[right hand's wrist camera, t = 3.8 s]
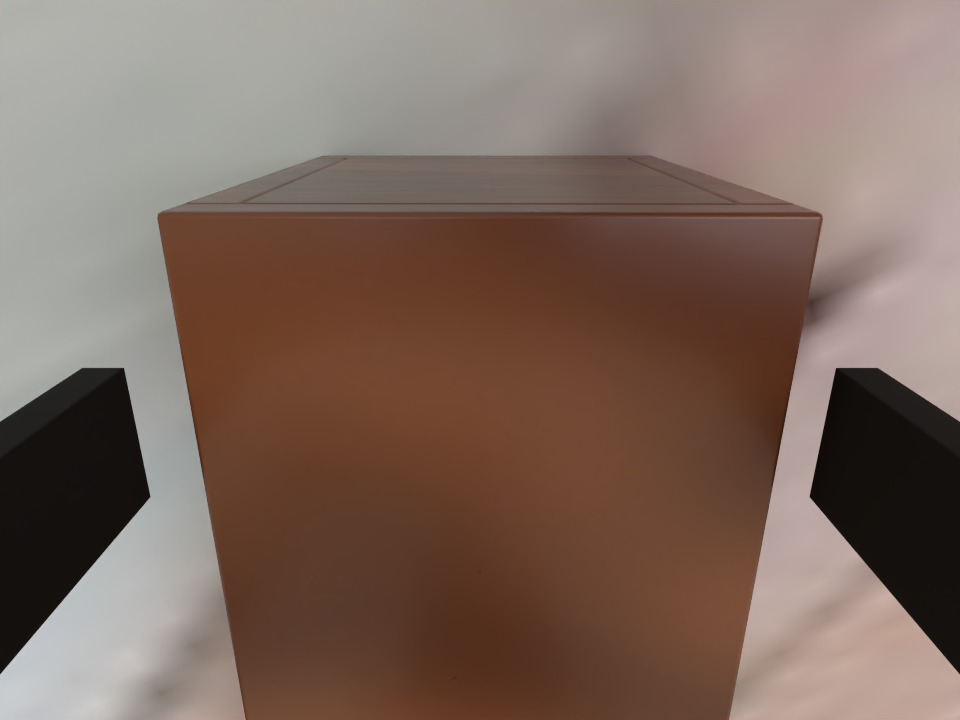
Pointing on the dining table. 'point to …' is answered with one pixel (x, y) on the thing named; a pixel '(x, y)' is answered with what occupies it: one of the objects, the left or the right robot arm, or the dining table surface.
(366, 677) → the cabinet
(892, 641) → the dining table surface
